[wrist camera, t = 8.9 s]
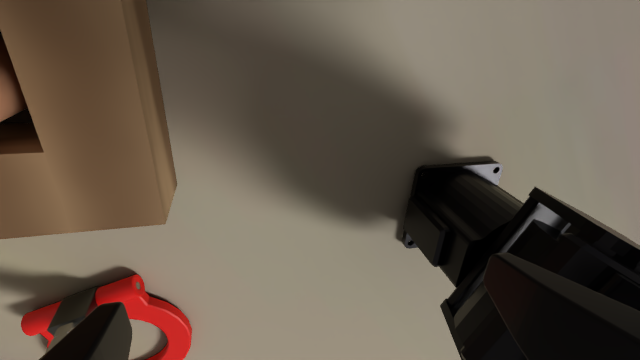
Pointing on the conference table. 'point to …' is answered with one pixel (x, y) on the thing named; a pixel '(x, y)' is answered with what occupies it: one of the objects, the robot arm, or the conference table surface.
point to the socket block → (84, 120)
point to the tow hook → (129, 291)
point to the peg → (9, 86)
